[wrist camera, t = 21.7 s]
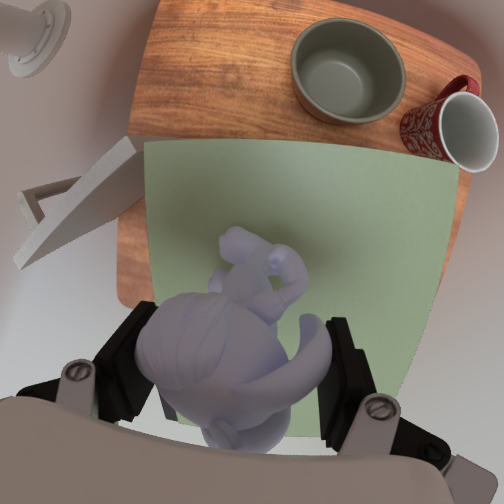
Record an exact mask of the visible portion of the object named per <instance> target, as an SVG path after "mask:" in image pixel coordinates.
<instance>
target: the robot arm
mask: <svg viewBox="0 0 504 504" xmlns="http://www.w3.org/2000/svg"><path fill="white" fill-rule="evenodd" d="M54 21H55V19H54V14H53V13H52V12H51V11H49V10H46V9H45V10H41V11H38V12H37V13H33V12H30V11H26V10H23V9H20V8H17V7H13V6H10V5H6V4H3V3H0V53H1V55H5V54H9V55H13V56H14V59H15V61H16V62H17V63H19V64H26V63H29V62H31V61H32V60H33V59H34V58H36V57H37V56H38V55H39V53H40V52H41V51H42V50H43V48H44V47H45V45H46V44H47V42H48V40H49V38H50V36H51V33H52V31H53V27H54ZM157 308H158V306H156V304H155V303H154V302H148V301H141V302H140V303H139V304H138V305H137V306H136V307H135V309H134V310H133V311H132V312H131V313H130V315H129V316H128V317H127V318H126V319H125V321H124V322H123V323H122V324H121V325H120V326H119V328H118V329H117V330H116V331H115V333H114V334H113V335H112V336H111V337H110V339H109V340H108V341H107V342H106V344H105V345H104V346H103V347H102V348H101V350H100V351H99V352H98V353H97V355H96V356H95V358H94V360H93V361H92V362H91V361H89V360H86V359H78V360H74V361H71V362H69V363H68V364H66V366H65V367H64V368H63V370H62V373H61V378H58V379H54V380H51V381H47V382H43V383H39V384H35V385H31V386H28V387H25V388H23V389H21V390H20V391H19V392H18V393H17V395H16V397H13V396H11V397H7V398H3V399H0V504H490V503H491V501H492V499H493V496H494V495H495V493H496V490H497V487H498V481H497V478H496V476H495V475H494V474H493V473H491V472H489V471H488V470H486V469H484V468H482V467H480V466H478V465H477V464H475V463H473V462H471V461H469V460H467V459H465V458H464V457H462V456H460V455H458V454H457V455H456V456H453V455H451V450H450V447H449V445H448V444H447V443H446V442H445V441H444V440H442V439H440V438H439V437H437V436H435V435H433V434H430V433H429V432H427V431H425V430H423V429H422V428H420V427H418V426H416V425H414V424H412V423H411V422H409V421H407V420H405V419H403V418H402V417H400V414H401V407H400V405H399V403H398V402H397V400H396V399H394V398H393V397H392V396H389V395H387V394H383V393H377V390H376V387H375V383H374V380H373V377H372V373H371V370H370V367H369V364H368V361H367V358H366V354H365V352H364V350H363V349H355V346H354V342H353V339H352V336H351V332H350V329H349V326H348V322H347V319H346V317H332V318H331V320H327V321H326V325H325V326H326V328H327V330H328V332H329V335H330V338H331V343H332V360H331V365H330V368H329V370H328V372H327V374H326V376H325V377H324V379H323V380H322V381H321V382H320V384H319V385H318V386H317V394H318V406H319V419H320V434H321V440H326V447H327V448H330V447H332V448H333V449H334V450H335V451H336V452H338V454H337V455H333V456H306V455H276V454H262V453H250V452H241V451H233V450H225V449H218V448H211V447H205V446H199V445H194V444H188V443H184V442H179V441H174V440H170V439H165V438H161V437H157V436H153V435H149V434H145V433H142V432H138V431H134V430H131V429H127V428H124V427H121V426H118V421H120V420H121V419H122V420H125V421H129V422H132V421H133V419H134V417H135V416H138V415H139V414H140V412H141V410H142V408H143V406H144V404H145V402H146V400H147V398H148V396H149V394H150V392H151V390H152V388H153V386H154V383H153V382H151V381H150V380H148V379H147V378H146V377H145V376H144V375H143V374H142V373H141V372H140V370H139V369H138V367H137V365H136V362H135V357H134V351H135V347H136V342H137V339H138V336H139V334H140V332H141V330H142V328H143V327H144V326H145V325H147V323H148V321H149V319H150V318H151V316H152V315H153V314H154V312H155V311H156V310H157Z"/></svg>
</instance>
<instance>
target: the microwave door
mask: <svg viewBox="0 0 504 504" xmlns="http://www.w3.org/2000/svg"><path fill="white" fill-rule="evenodd" d="M183 139H190V138H178V137H164V136H146V135H126V136H125V137H123V138H122V139H121V140H120V141H119V142H118V143H117V144H115V146H113V147H112V148H111V149H110V150H109V151H108V152H107V153H106V154H104V156H102V157H101V158H100V159H99V160H98V161H97V162H96V163H95V164H94V165H93V166H92V167H91V168H90V169H89V170H88V171H87V172H86V173H85V174H84V175H83V176H80V177H75V178H71V179H67V180H63V181H58V182H54V183H50V184H46V185H43V186H39V187H35V188H32V189H28V190H25V191H21V192H19V193H18V195H17V201H18V204H19V206H20V208H21V210H22V212H23V214H24V217H25V218H26V220H27V222H28V224H29V226H30V228H31V230H32V233H31V235H30V236H29V237H28V239H27V240H26V241H25V242H24V244H23V245H22V246H21V248H20V249H19V250H18V252H17V253H16V255H15V256H14V257H13V260H14V262H15V263H16V265H17V267H18V269H19V270H21V269H23V268H25V267H27V266H28V265H30V264H32V263H33V262H35V261H37V260H38V259H40V258H42V257H44V256H45V255H47V254H49V253H51V252H53V251H54V250H56V249H58V248H60V247H62V246H63V245H65V244H67V243H69V242H71V241H73V240H75V239H76V238H78V237H80V236H82V235H84V234H86V233H88V232H90V231H92V230H93V229H96V228H98V227H100V226H102V225H104V224H106V223H108V222H110V221H112V220H114V219H116V218H117V217H118V216H119V215H120V214H122V213H123V212H124V211H126V210H127V209H128V208H129V207H131V206H132V205H133V204H134V203H136V202H137V201H138V200H140V199H141V198H142V197H144V196H145V178H144V142H150V141H164V140H183ZM64 192H66V193H65V195H64V196H63V197H62V198H61V199H60V200H59V201H58V202H57V204H56V205H55V206H54V207H53V208H52V209H51V210H50V211H49V213H48V214H47V215H46V216H45V215H44V213H43V211H42V210H41V208H40V206H39V204H38V202H37V201H38V200H41V199H44V198H48V197H51V196H54V195H57V194H60V193H64Z"/></svg>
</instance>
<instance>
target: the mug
mask: <svg viewBox="0 0 504 504" xmlns="http://www.w3.org/2000/svg"><path fill="white" fill-rule="evenodd" d="M466 85H468V86H467V89H466V92H465V91H460V90H461V89H462V88H463V87H465V86H466ZM478 96H479V85H478V83H477V82H476V81H475V80H474V79H473V78H471V77H470V76H468V75H460V76H458V77H456V78H455V79H453V80H452V81H451V82H450V83H449V84H448V85H447V86H446V87H445V88H444V89H443V90H442V91H441V93H440V94H439V95H438V96H437V98H436V99H435V100H434V102H432V103H429V104H426V105H423V106H420V107H418V108H415V109H412V110H410V111H408V112H407V113H406V114H405V115H404V117H403V118H402V121H401V125H400V133H401V138H402V141H403V143H404V144H405V146H406V147H407V149H408V150H409V151H410V152H412V153H413V154H415V155H417V156H420V157H425V158H430V159H435V160H440V161H444V162H448V163H453V164H457V165H459V166H460V167H459V168H460V169H462V170H464V171H466V172H470V173H478V172H482V171H484V170H486V169H487V168H488V167H489V166H490V165H491V164H492V163H493V161H494V159H495V157H496V155H497V151H498V146H499V132H498V126H497V123H496V120H495V117H494V115H493V113H492V112H491V110H490V108H489V107H488V106H487V105H486V103H485V102H484V101H483V100H482V99H480V98H479V97H478Z"/></svg>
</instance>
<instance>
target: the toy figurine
mask: <svg viewBox="0 0 504 504" xmlns="http://www.w3.org/2000/svg"><path fill="white" fill-rule="evenodd" d="M219 247H220V250H219V253H220V256H221V257H222V258H223V259H224V260H225V261H227V262H229V263H232V264H234V265H235V266H233V267H232V269H231V270H230V271H229V270H227V269H224V268H217V269H216V270H215V271H214V273H213V276H212V277H211V278H210V279H209V281H208V285H207V287H208V290H209V292H208V293H207V294H205V293H196V292H188V293H181V294H178V295H177V296H175V297H174V298H169V299H167V300H165V301H164V302H163V303H162V304H161V305H160V306H159V307H158V308H157V310H156V311H155V312H154V314H153V315H152V316H151V318H150V319H149V321H148V323H147V325H145V326H144V327H143V328H142V330H141V332H140V334H139V336H138V339H137V342H136V347H135V351H134V357H135V362H136V365H137V367H138V369H139V370H140V372H141V373H142V374H143V375H144V376H145V377H146V378H147V379H148V380H150V381H151V382H153V383H154V384H155V385H156V387H157V389H158V391H159V393H160V394H161V396H162V397H163V398H164V400H165V401H166V402H167V403H168V404H169V405H170V406H171V407H172V408H173V409H174V410H176V411H177V412H178V413H179V414H181V415H182V416H183V417H185V418H186V419H188V420H189V421H191V422H192V423H194V424H196V425H198V426H200V427H201V431H202V434H203V437H204V439H205V441H206V443H207V445H208V446H209V447H211V448H218V449H225V450H233V451H241V452H250V453H262V454H265V453H267V452H268V451H270V450H271V449H272V448H274V447H275V446H276V445H277V444H278V443H279V442H280V441H281V439H282V438H283V437H284V435H285V434H286V432H287V429H288V427H289V423H290V419H291V406H292V405H294V404H296V403H297V402H299V401H300V400H302V399H303V398H304V397H306V396H307V395H308V394H309V393H310V392H311V391H313V390H314V389H315V388H316V387H317V386H318V385H319V384H320V382H321V381H322V380H323V379H324V377H325V376H326V374H327V372H328V370H329V368H330V365H331V360H332V343H331V338H330V335H329V332H328V330H327V328H326V326H325V324H324V323H323V322H322V320H321V319H320V318H319V317H317V316H316V315H314V314H311V313H305V314H302V315H301V316H300V318H299V325H300V344H299V348H298V351H297V353H296V355H295V357H294V358H293V359H291V360H290V361H289V360H288V357H287V354H286V352H285V350H284V348H283V346H282V344H281V343H280V341H279V340H278V338H277V335H278V329H277V323H276V322H277V321H278V320H279V319H280V318H281V317H282V315H283V313H284V311H286V310H287V309H288V307H289V306H290V305H292V304H293V303H295V302H296V301H297V300H298V299H299V298H300V297H301V296H302V295H303V294H304V293H305V292H306V290H307V289H308V286H309V276H308V272H307V269H306V266H305V264H304V262H303V260H302V259H301V257H300V256H299V254H298V253H297V252H296V251H295V250H294V249H292V248H291V247H289V246H287V245H284V244H274V245H273V244H271V243H269V242H268V241H266V240H264V239H263V238H261V237H260V236H258V235H256V234H254V233H252V232H249V231H247V230H245V229H243V228H242V227H240V226H233V227H230V228H229V229H228V230H227V231H226V233H224V234H222V235H221V236H220V238H219ZM271 275H279V276H280V277H281V279H282V280H283V281H284V283H285V284H286V286H284V287H282V288H281V289H280V290H278V291H273V289H272V285H271V283H270V281H269V279H268V277H267V276H271Z"/></svg>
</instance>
